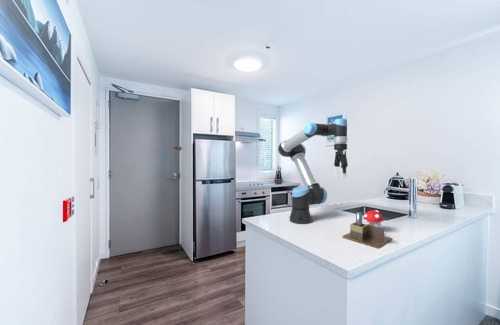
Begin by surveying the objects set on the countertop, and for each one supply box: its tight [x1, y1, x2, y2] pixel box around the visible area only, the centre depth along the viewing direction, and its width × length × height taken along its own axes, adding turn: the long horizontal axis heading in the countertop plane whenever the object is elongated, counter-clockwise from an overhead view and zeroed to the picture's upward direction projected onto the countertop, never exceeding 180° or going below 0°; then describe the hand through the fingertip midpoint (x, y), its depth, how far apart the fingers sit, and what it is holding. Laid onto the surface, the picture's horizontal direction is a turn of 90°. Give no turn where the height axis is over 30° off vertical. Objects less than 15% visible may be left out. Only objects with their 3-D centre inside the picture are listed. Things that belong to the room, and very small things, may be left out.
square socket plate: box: [341, 221, 393, 249], centre depth 116 cm, size 18×18×8 cm
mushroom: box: [362, 210, 385, 228], centre depth 130 cm, size 11×11×12 cm
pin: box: [355, 211, 363, 227], centre depth 117 cm, size 3×3×13 cm
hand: (340, 177), depth 135 cm, fingers open, 13 cm apart
